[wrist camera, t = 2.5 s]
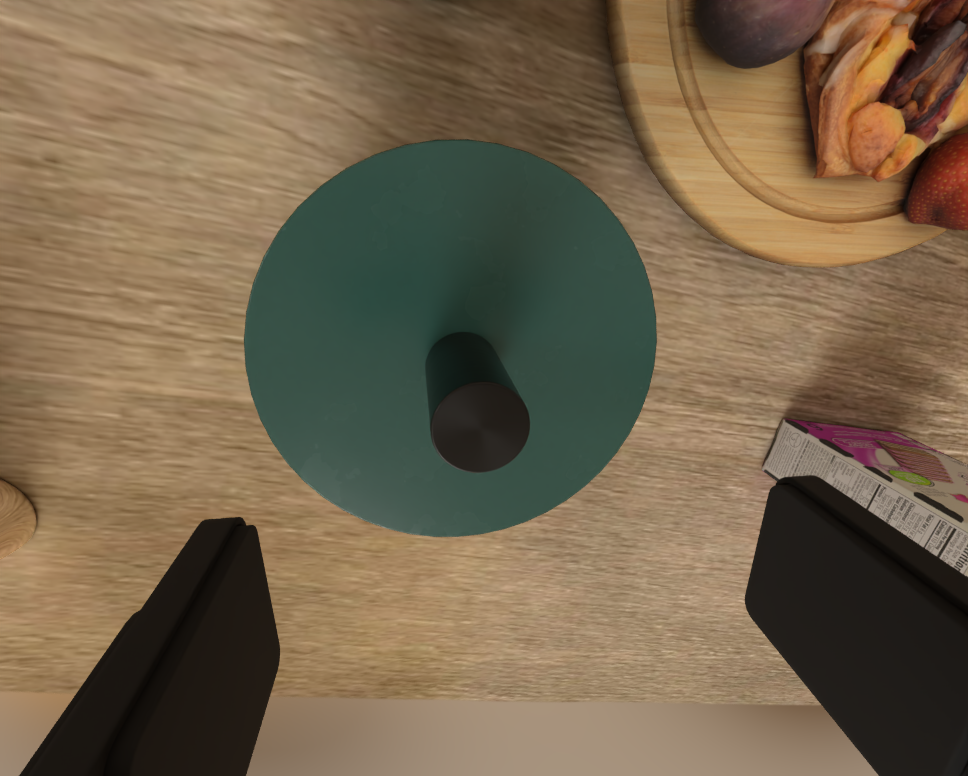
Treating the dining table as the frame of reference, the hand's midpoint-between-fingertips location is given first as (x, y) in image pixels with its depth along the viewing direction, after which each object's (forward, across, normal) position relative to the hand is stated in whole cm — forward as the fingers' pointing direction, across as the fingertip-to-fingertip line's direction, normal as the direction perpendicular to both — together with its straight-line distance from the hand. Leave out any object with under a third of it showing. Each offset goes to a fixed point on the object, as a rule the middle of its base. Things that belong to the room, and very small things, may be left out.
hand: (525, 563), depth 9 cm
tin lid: (+11, 0, 0) cm, 11 cm away
